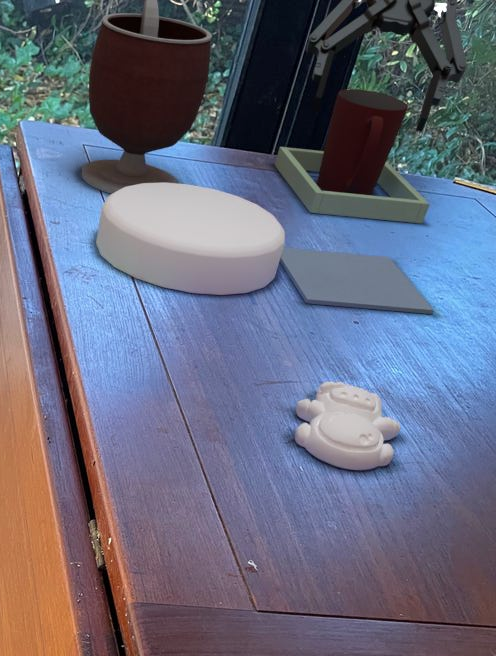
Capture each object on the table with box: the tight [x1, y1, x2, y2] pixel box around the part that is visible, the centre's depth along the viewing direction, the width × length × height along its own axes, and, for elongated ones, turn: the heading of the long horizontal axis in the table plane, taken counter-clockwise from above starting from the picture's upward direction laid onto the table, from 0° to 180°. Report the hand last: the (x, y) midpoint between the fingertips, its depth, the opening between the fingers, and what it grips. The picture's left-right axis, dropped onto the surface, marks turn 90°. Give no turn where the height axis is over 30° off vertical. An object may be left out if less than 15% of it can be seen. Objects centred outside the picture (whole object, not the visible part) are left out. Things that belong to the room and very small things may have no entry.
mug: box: [316, 88, 409, 196], centre depth 129 cm, size 12×9×11 cm
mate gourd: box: [81, 0, 213, 195], centre depth 120 cm, size 16×14×20 cm
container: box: [95, 183, 286, 296], centre depth 108 cm, size 20×20×5 cm
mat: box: [279, 247, 435, 315], centre depth 109 cm, size 14×14×1 cm
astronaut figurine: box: [294, 381, 401, 471], centre depth 83 cm, size 9×12×3 cm
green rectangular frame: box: [274, 146, 431, 224], centre depth 132 cm, size 15×18×2 cm
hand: (368, 114), depth 129 cm, fingers open, 13 cm apart
